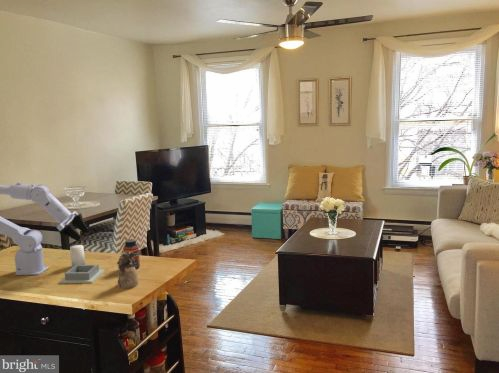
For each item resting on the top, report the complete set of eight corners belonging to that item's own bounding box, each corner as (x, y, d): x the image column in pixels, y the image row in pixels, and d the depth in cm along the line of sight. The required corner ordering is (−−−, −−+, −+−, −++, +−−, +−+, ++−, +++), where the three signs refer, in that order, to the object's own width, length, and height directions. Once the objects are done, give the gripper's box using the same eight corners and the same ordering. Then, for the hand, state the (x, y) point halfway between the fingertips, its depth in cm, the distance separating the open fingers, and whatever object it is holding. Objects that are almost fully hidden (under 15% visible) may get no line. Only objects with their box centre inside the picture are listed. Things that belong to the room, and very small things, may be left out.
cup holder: (59, 283, 156) (58, 274, 156) (74, 271, 168) (73, 263, 167) (91, 282, 155) (91, 274, 155) (104, 271, 167) (103, 263, 167)
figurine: (120, 281, 156) (117, 249, 154) (140, 280, 156) (137, 248, 154) (115, 289, 149) (112, 256, 147) (136, 288, 149) (134, 255, 147)
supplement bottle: (135, 271, 166) (133, 242, 164) (121, 270, 167) (119, 242, 166) (142, 265, 172) (140, 238, 170) (128, 265, 173) (126, 238, 171)
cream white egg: (69, 268, 171) (67, 248, 170) (75, 263, 176) (73, 245, 175) (82, 268, 171) (80, 248, 170) (87, 263, 176) (85, 245, 175)
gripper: (56, 211, 159) (83, 237, 162) (72, 198, 173) (96, 222, 176) (43, 222, 160) (70, 248, 163) (60, 208, 174) (84, 232, 177)
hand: (83, 235), depth 170 cm, fingers open, 7 cm apart
